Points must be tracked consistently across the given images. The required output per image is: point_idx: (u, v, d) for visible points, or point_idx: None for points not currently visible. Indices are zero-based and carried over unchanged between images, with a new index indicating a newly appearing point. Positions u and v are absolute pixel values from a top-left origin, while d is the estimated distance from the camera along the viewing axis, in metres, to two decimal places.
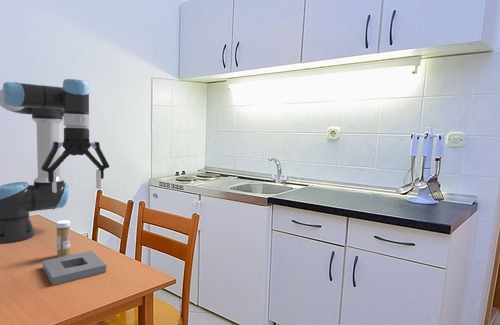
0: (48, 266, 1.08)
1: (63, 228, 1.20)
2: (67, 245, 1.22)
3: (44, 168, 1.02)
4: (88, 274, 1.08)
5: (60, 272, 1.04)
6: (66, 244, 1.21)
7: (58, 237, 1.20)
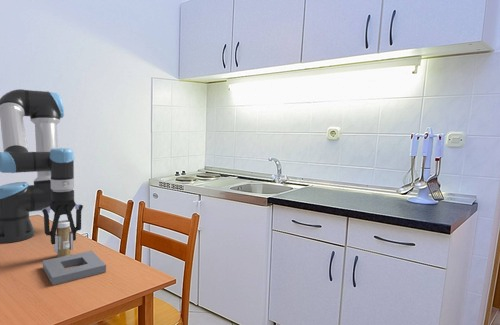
0: (48, 266, 1.08)
1: (63, 228, 1.20)
2: (67, 245, 1.22)
3: (47, 233, 1.17)
4: (88, 274, 1.08)
5: (60, 272, 1.04)
6: (66, 244, 1.21)
7: (58, 237, 1.20)
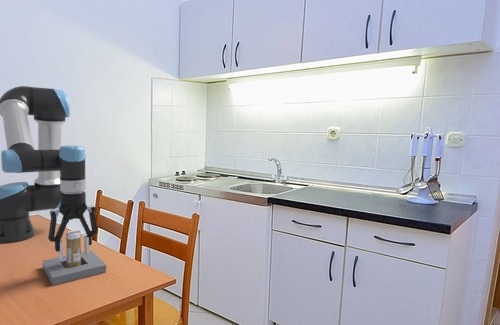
0: (48, 266, 1.08)
1: (74, 239, 1.09)
2: (78, 258, 1.11)
3: (51, 239, 1.05)
4: (88, 274, 1.08)
5: (60, 272, 1.04)
6: (77, 257, 1.10)
7: (68, 249, 1.09)
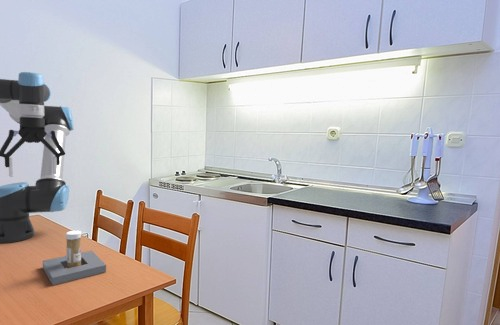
0: (48, 266, 1.08)
1: (74, 240, 1.09)
2: (78, 258, 1.11)
3: (0, 154, 1.11)
4: (88, 274, 1.08)
5: (60, 272, 1.04)
6: (77, 257, 1.10)
7: (68, 249, 1.09)
